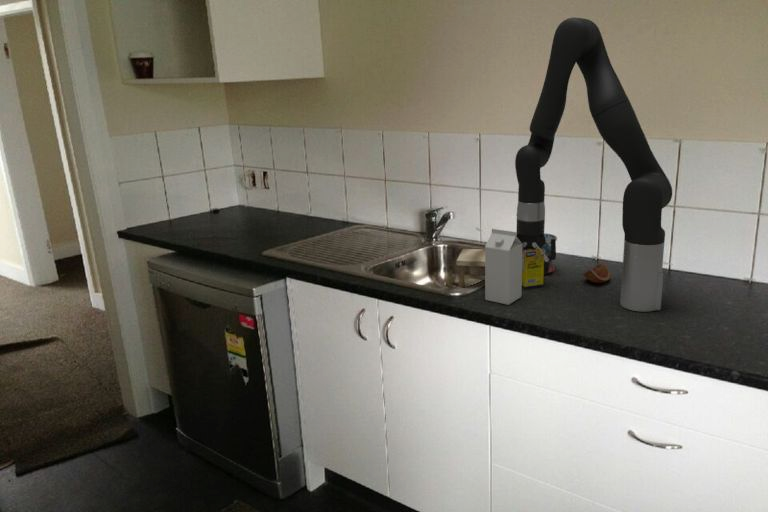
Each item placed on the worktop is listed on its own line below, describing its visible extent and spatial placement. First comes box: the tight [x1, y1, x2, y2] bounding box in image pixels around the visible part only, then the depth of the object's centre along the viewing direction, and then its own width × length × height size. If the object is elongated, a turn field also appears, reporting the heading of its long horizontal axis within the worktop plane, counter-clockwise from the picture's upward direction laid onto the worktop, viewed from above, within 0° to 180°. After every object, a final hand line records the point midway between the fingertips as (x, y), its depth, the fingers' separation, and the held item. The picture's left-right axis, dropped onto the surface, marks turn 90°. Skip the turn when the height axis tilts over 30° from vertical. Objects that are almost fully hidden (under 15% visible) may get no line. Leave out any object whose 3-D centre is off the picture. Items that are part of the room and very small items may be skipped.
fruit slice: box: [582, 262, 611, 284], centre depth 181 cm, size 8×7×5 cm
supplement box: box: [522, 249, 545, 290], centre depth 181 cm, size 6×6×11 cm
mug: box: [542, 232, 558, 274], centre depth 193 cm, size 12×9×11 cm
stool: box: [456, 248, 485, 288], centre depth 186 cm, size 12×12×8 cm
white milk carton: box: [484, 228, 523, 306], centre depth 170 cm, size 7×7×19 cm
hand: (529, 272), depth 182 cm, fingers closed on supplement box, 8 cm apart
